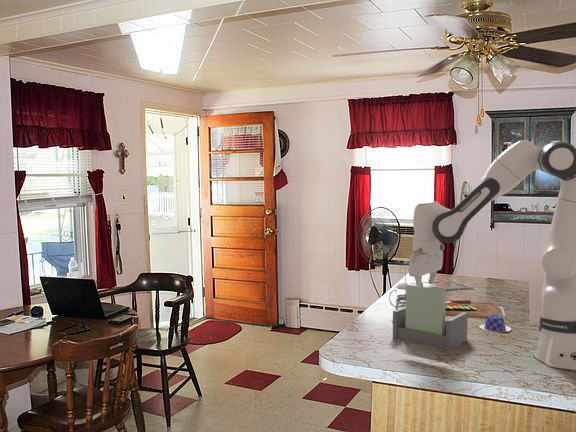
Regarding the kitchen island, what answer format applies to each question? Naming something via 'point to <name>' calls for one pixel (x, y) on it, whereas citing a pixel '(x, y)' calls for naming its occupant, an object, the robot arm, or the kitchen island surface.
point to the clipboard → (454, 288)
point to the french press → (401, 297)
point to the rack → (452, 338)
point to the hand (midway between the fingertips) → (425, 285)
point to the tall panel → (425, 309)
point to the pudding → (495, 324)
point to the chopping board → (471, 308)
